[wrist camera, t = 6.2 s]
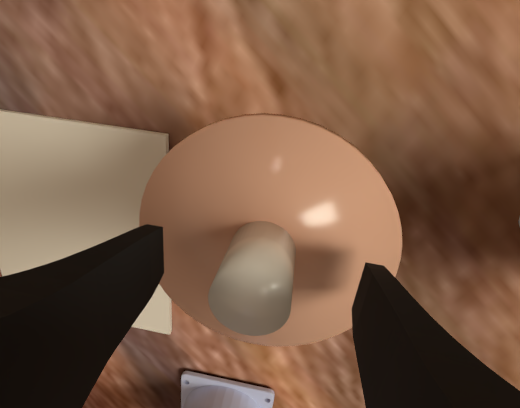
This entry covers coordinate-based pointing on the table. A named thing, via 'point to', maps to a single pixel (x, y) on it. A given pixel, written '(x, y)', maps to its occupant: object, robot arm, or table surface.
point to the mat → (73, 192)
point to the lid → (270, 227)
